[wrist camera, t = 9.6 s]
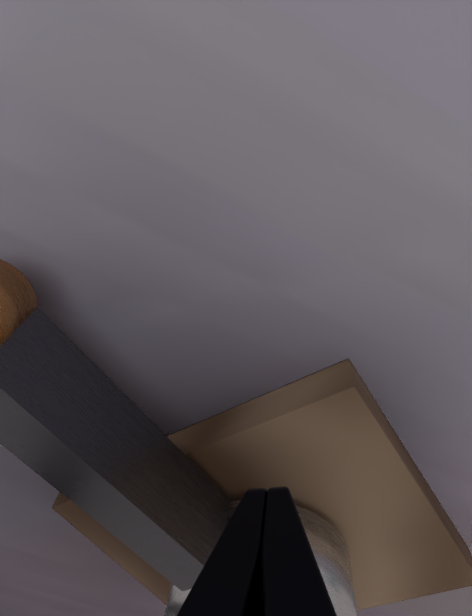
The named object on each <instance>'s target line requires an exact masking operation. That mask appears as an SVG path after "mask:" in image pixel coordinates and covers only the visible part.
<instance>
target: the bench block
mask: <svg viewBox="0 0 472 616" xmlns="http://www.w3.org/2000/svg"><path fill="white" fill-rule="evenodd" d="M167 437H168V438H169V439H170V440H171V441H172V442H173V443H174V444H175V445H176V446H177V447H178V448H179V449H180V450H181V451H182V452H183V453H184V454H185V455H186V456H187V457H188V458H189V459H190V460H191V461H192V462H193V463H194V464H195V465H196V466H197V467H198V468H199V469H200V470H201V471H202V472H203V473H204V474H205V475H206V476H207V477H208V478H209V479H210V480H211V481H212V482H213V483H214V484H215V485H216V486H217V487H218V488H219V489H220V490H221V491H222V492H223V493H224V494H225V495H226V496H227V497H228V498H229V499H230V501H235V500H241V498H242V496H243V494H244V493H245V491H246V490H248V489H254V488H266V489H267V490H268V489H269V488H271V487H284V486H286V487H288V488H289V490H290V492H291V495H292V497H293V500H294V503H295V505H297V506H300V507H303V508H306V509H308V510H310V511H312V512H315V513H316V514H318V515H320V516H322V517H323V518H325V519H326V520H328V521H329V522H330V523H332V524H333V525H334V526H335V527H336V528H337V529H338V530H339V531H340V532H341V534H342V535H343V536H344V538H345V540H346V542H347V544H348V547H349V550H350V557H351V565H352V573H353V581H354V589H355V597H356V605H357V610H361V609H365V608H370V607H375V606H379V605H384V604H389V603H393V602H398V601H403V600H407V599H412V598H417V597H421V596H426V595H431V594H435V593H440V592H445V591H449V590H454V589H459V588H463V587H468V586H472V556H471V553H470V551H469V548H468V547H467V545H466V544H465V542H464V540H463V539H462V537H461V536H460V534H459V533H458V531H457V529H456V528H455V526H454V525H453V523H452V521H451V520H450V518H449V517H448V515H447V514H446V512H445V510H444V509H443V507H442V506H441V504H440V502H439V501H438V499H437V498H436V496H435V495H434V493H433V491H432V490H431V488H430V487H429V485H428V483H427V482H426V480H425V479H424V477H423V476H422V474H421V472H420V471H419V469H418V468H417V466H416V464H415V463H414V461H413V460H412V458H411V456H410V455H409V453H408V452H407V450H406V449H405V447H404V445H403V444H402V442H401V441H400V439H399V437H398V436H397V434H396V433H395V431H394V430H393V428H392V426H391V425H390V423H389V422H388V420H387V418H386V417H385V415H384V414H383V412H382V411H381V409H380V407H379V406H378V404H377V403H376V401H375V399H374V398H373V396H372V395H371V393H370V392H369V390H368V388H367V387H366V385H365V384H364V382H363V380H362V379H361V377H360V376H359V374H358V372H357V371H356V369H355V368H354V366H353V365H352V363H351V361H350V360H349V359H347V360H344V361H342V362H340V363H337V364H335V365H333V366H330V367H328V368H326V369H323V370H321V371H319V372H316V373H314V374H312V375H309V376H307V377H304V378H302V379H300V380H297V381H295V382H293V383H290V384H288V385H286V386H283V387H281V388H279V389H276V390H274V391H272V392H269V393H267V394H265V395H262V396H260V397H258V398H255V399H253V400H251V401H248V402H246V403H243V404H241V405H239V406H236V407H234V408H232V409H229V410H227V411H225V412H222V413H220V414H218V415H215V416H213V417H211V418H208V419H206V420H204V421H201V422H199V423H197V424H194V425H192V426H189V427H187V428H185V429H182V430H180V431H178V432H175V433H173V434H171V435H168V436H167ZM52 509H54V510H55V511H56V512H57V513H58V514H59V515H61V516H62V517H63V518H64V519H65V520H67V521H68V522H69V523H70V524H71V525H72V526H74V527H75V528H76V529H77V530H78V531H80V532H81V533H82V534H83V535H84V536H85V537H87V538H88V539H89V540H90V541H91V542H93V543H94V544H95V545H96V546H97V547H98V548H100V549H101V550H102V551H103V552H104V553H106V554H107V555H108V556H109V557H110V558H111V559H113V560H114V561H115V562H116V563H117V564H119V565H120V566H121V567H122V568H123V569H124V570H126V571H127V572H128V573H129V574H130V575H132V576H133V577H134V578H135V579H136V580H137V581H139V582H140V583H141V584H142V585H143V586H145V587H146V588H147V589H148V590H149V591H150V592H152V593H153V594H154V595H155V596H156V597H158V598H159V599H160V600H161V601H162V602H163V603H165V604H166V605H167V602H168V597H169V593H170V588H171V584H172V583H171V582H170V581H169V580H167V579H166V578H165V577H164V576H163V575H161V574H160V573H159V572H158V571H156V570H155V569H154V568H153V567H151V566H150V565H149V564H148V563H147V562H145V561H144V560H143V559H142V558H140V557H139V556H138V555H137V554H136V553H134V552H133V551H132V550H131V549H129V548H128V547H127V546H126V545H125V544H123V543H122V542H121V541H120V540H118V539H117V538H116V537H115V536H114V535H112V534H111V533H110V532H109V531H107V530H106V529H105V528H104V527H102V526H101V525H100V524H99V523H98V522H96V521H95V520H94V519H93V518H91V517H90V516H89V515H88V514H87V513H85V512H84V511H83V510H82V509H80V508H79V507H78V506H77V505H76V504H74V503H73V502H72V501H71V500H69V499H68V498H67V497H66V496H65V495H63V494H62V493H61V492H60V493H59V494H58V496H57V498H56V500H55V502H54V504H53V506H52Z"/></svg>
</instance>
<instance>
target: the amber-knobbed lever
mask: <svg viewBox="0 0 472 616" xmlns="http://www.w3.org/2000/svg"><path fill="white" fill-rule="evenodd" d="M0 443H1V444H2V445H3V446H4V447H6V448H7V449H8V450H9V451H11V452H12V453H13V454H14V455H15V456H17V457H18V458H19V459H20V460H22V461H23V462H24V463H25V464H27V465H28V466H29V467H30V468H31V469H33V470H34V471H35V472H36V473H38V474H39V475H40V476H41V477H42V478H44V479H45V480H46V481H47V482H49V483H50V484H51V485H52V486H53V487H55V488H56V489H57V490H58V491H60V492H61V493H62V494H63V495H65V496H66V497H67V498H68V499H69V500H71V501H72V502H73V503H74V504H76V505H77V506H78V507H79V508H80V509H82V510H83V511H84V512H85V513H87V514H88V515H89V516H90V517H91V518H93V519H94V520H95V521H96V522H98V523H99V524H100V525H101V526H102V527H104V528H105V529H106V530H107V531H109V532H110V533H111V534H112V535H114V536H115V537H116V538H117V539H118V540H120V541H121V542H122V543H123V544H125V545H126V546H127V547H128V548H129V549H131V550H132V551H133V552H134V553H136V554H137V555H138V556H139V557H140V558H142V559H143V560H144V561H145V562H147V563H148V564H149V565H150V566H151V567H153V568H154V569H155V570H156V571H158V572H159V573H160V574H161V575H163V576H164V577H165V578H166V579H167V580H169V581H170V582H171V583H172V584H171V588H170V593H169V597H168V602H167V607H166V611H165V616H177V614H178V612H179V610H180V608H181V607H182V605H183V603H184V601H185V599H186V598H187V596H188V594H189V592H190V590H191V588H192V587H193V585H194V583H195V581H196V579H197V578H198V576H199V574H200V572H201V570H202V569H203V567H204V565H205V563H206V561H207V560H208V558H209V556H210V554H211V552H212V550H213V549H214V547H215V545H216V543H217V541H218V540H219V538H220V536H221V534H222V532H223V531H224V529H225V527H226V525H227V523H228V522H229V520H230V518H231V516H232V514H233V513H234V511H235V509H236V507H237V505H238V503H239V502H240V500H235V501H230V499H229V498H228V497H227V496H226V495H225V494H224V493H223V492H222V491H221V490H220V489H219V488H218V487H217V486H216V485H215V484H214V483H213V482H212V481H211V480H210V479H209V478H208V477H207V476H206V475H205V474H204V473H203V472H202V471H201V470H200V469H199V468H198V467H197V466H196V465H195V464H194V463H193V462H192V461H191V460H190V459H189V458H188V457H187V456H186V455H185V454H184V453H183V452H182V451H181V450H180V449H179V448H178V447H177V446H176V445H175V444H174V443H173V442H172V441H171V440H170V439H169V438H168V437H167V436H166V435H165V434H164V433H163V432H162V431H161V430H160V429H159V428H158V427H157V426H156V425H155V424H154V423H153V422H152V421H151V420H150V419H149V418H148V417H147V416H146V415H145V414H144V413H143V412H142V411H141V410H140V409H139V408H138V407H136V406H135V405H134V404H133V403H132V402H131V401H130V400H129V399H128V398H127V397H126V396H125V395H124V394H123V393H122V392H121V391H120V390H119V389H118V388H117V387H116V386H115V385H114V384H113V383H112V382H111V381H110V380H109V379H108V378H107V377H106V376H105V375H104V374H103V373H102V372H101V371H100V370H99V369H98V368H97V367H96V366H95V365H94V364H93V363H92V362H91V361H90V360H89V359H88V358H87V357H86V356H85V355H84V354H83V353H82V352H81V351H80V350H79V349H78V348H77V347H76V346H75V345H74V344H73V343H72V342H71V341H70V340H69V339H68V338H67V337H66V336H65V335H64V334H63V333H62V332H61V331H60V330H59V329H58V328H57V327H56V326H55V325H54V324H53V323H52V322H51V321H50V320H49V319H48V318H47V317H46V316H45V315H44V314H43V313H42V312H41V311H40V310H39V309H38V308H37V298H36V295H35V292H34V290H33V288H32V286H31V284H30V283H29V281H28V280H27V279H26V278H25V276H24V275H23V274H22V273H21V272H20V271H19V270H17V269H16V268H15V267H13V266H12V265H10V264H9V263H7V262H5V261H3V260H1V259H0ZM296 508H297V511H298V513H299V516H300V519H301V521H302V524H303V527H304V529H305V532H306V535H307V537H308V540H309V543H310V545H311V548H312V551H313V553H314V556H315V559H316V561H317V564H318V567H319V569H320V572H321V575H322V577H323V580H324V583H325V585H326V588H327V591H328V593H329V596H330V599H331V601H332V604H333V607H334V609H335V612H336V615H337V616H358V613H357V605H356V597H355V589H354V581H353V573H352V565H351V557H350V550H349V547H348V544H347V542H346V540H345V538H344V536H343V535H342V534H341V532H340V531H339V530H338V529H337V528H336V527H335V526H334V525H333V524H332V523H330V522H329V521H328V520H326V519H325V518H323V517H322V516H320V515H318V514H316V513H315V512H312V511H310V510H308V509H306V508H303V507H300V506H297V505H296Z"/></svg>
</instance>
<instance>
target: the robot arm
mask: <svg viewBox="0 0 472 616" xmlns="http://www.w3.org/2000/svg"><path fill="white" fill-rule="evenodd" d="M177 616H337V615H336V612H335V609H334V607H333V604H332V601H331V599H330V596H329V593H328V591H327V588H326V585H325V583H324V580H323V577H322V575H321V572H320V569H319V567H318V564H317V561H316V559H315V556H314V553H313V551H312V548H311V545H310V543H309V540H308V537H307V535H306V532H305V529H304V527H303V524H302V521H301V519H300V516H299V513H298V511H297V508H296V505H295V503H294V500H293V497H292V495H291V492H290V490H289V488H288V487H286V486H284V487H271V488H269V489H268V490H267V489H266V488H254V489H248V490H246V491H245V493H244V494H243V496H242V498H241V500H240V502H239V503H238V505H237V507H236V509H235V511H234V513H233V514H232V516H231V518H230V520H229V522H228V523H227V525H226V527H225V529H224V531H223V532H222V534H221V536H220V538H219V540H218V541H217V543H216V545H215V547H214V549H213V550H212V552H211V554H210V556H209V558H208V560H207V561H206V563H205V565H204V567H203V569H202V570H201V572H200V574H199V576H198V578H197V579H196V581H195V583H194V585H193V587H192V588H191V590H190V592H189V594H188V596H187V598H186V599H185V601H184V603H183V605H182V607H181V608H180V610H179V612H178V614H177Z"/></svg>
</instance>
